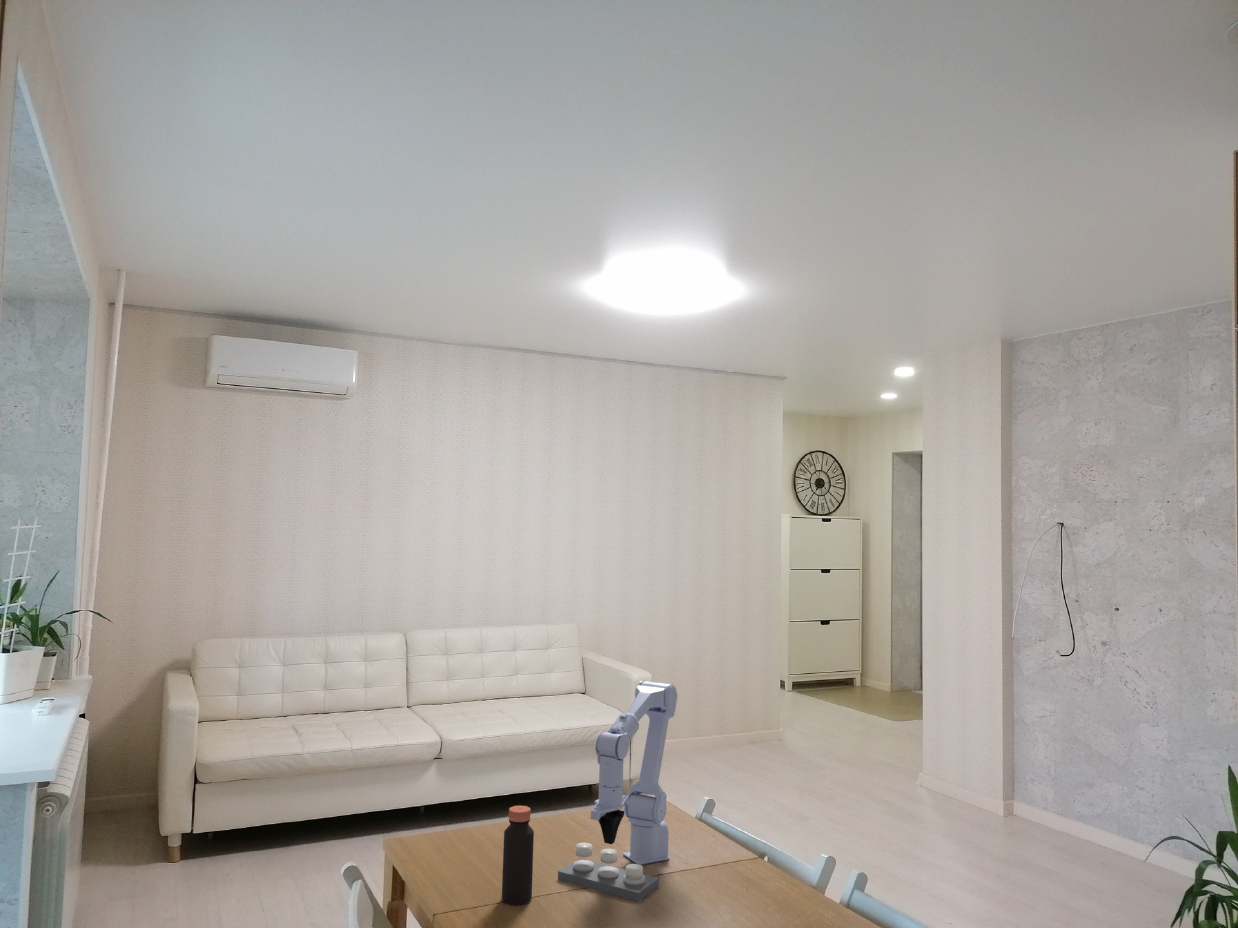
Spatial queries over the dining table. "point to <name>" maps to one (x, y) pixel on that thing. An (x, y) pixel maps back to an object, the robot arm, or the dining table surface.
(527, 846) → the bottle
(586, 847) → the knob
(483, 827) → the dining table surface
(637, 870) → the knob
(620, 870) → the knob panel
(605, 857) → the knob
